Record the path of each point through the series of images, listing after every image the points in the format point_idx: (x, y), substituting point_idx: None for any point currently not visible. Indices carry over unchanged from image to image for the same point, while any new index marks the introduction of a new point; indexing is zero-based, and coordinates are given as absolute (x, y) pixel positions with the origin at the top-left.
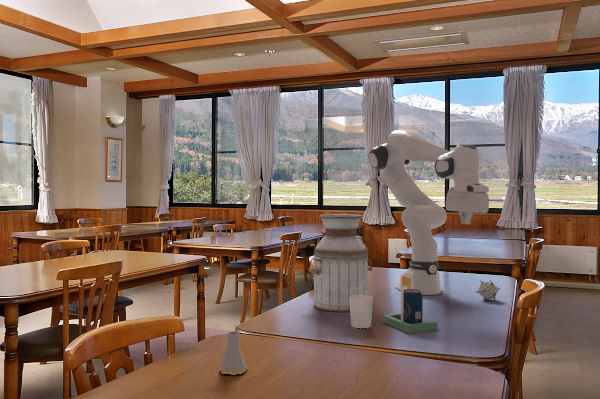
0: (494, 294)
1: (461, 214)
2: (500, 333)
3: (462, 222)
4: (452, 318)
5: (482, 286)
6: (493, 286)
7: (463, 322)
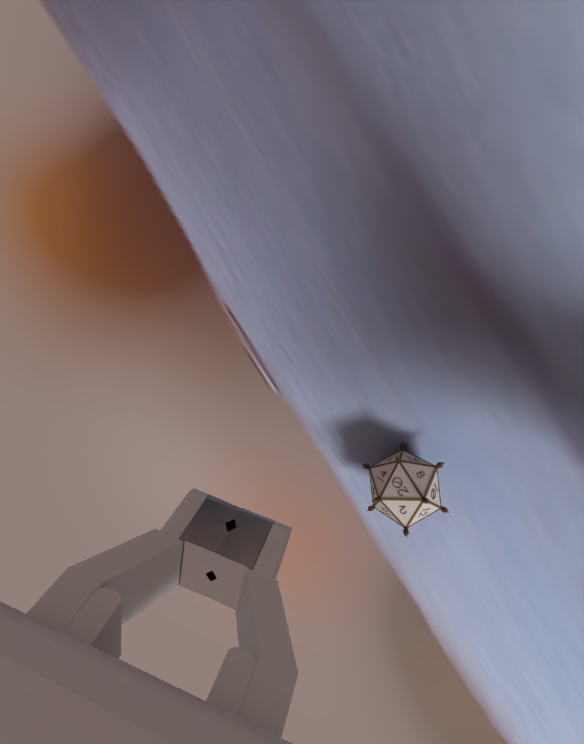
0: (369, 466)
1: (234, 648)
2: (102, 70)
3: (264, 525)
4: (324, 97)
5: (414, 480)
6: (376, 493)
7: (259, 81)
